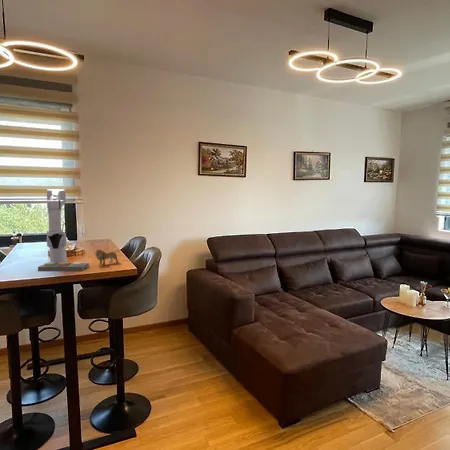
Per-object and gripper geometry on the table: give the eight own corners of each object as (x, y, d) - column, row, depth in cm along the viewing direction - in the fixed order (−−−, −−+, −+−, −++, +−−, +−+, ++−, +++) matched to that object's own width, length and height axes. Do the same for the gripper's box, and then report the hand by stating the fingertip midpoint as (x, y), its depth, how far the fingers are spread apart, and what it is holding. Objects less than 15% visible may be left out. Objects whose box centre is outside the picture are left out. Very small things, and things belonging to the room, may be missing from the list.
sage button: (48, 266, 178) (48, 262, 178) (56, 266, 178) (56, 262, 178) (44, 268, 174) (44, 263, 174) (52, 268, 174) (52, 263, 174)
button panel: (47, 266, 181) (47, 263, 181) (88, 266, 182) (88, 263, 182) (38, 270, 171) (37, 266, 171) (82, 270, 172) (82, 266, 172)
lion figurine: (99, 266, 183) (99, 250, 183) (93, 265, 186) (92, 249, 185) (120, 262, 196) (120, 247, 195) (114, 261, 198) (114, 246, 198)
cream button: (75, 266, 179) (75, 262, 179) (83, 266, 179) (83, 262, 179) (72, 268, 175) (72, 263, 175) (80, 268, 175) (80, 263, 175)
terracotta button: (62, 266, 178) (61, 262, 178) (69, 266, 179) (69, 262, 178) (58, 268, 174) (58, 263, 174) (66, 268, 175) (66, 263, 174)
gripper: (53, 222, 183) (54, 247, 184) (40, 223, 169) (41, 250, 170) (66, 222, 184) (67, 246, 184) (54, 223, 169) (55, 250, 170)
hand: (55, 248), depth 177 cm, fingers closed
